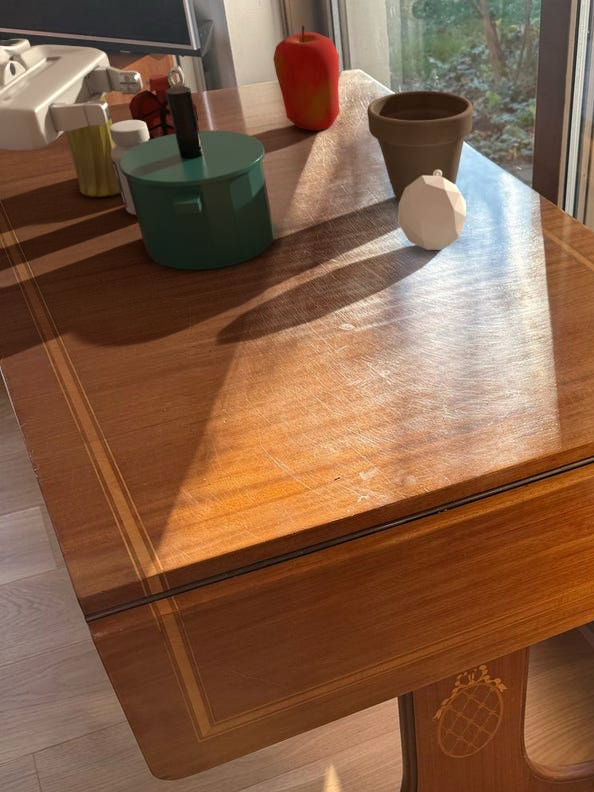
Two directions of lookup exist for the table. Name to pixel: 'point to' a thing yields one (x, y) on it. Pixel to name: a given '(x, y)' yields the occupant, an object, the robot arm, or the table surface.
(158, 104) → the grenade
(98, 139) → the vase
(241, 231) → the pot
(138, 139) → the pill bottle
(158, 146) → the lid
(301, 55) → the apple
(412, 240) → the ornament
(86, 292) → the table surface
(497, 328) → the table surface
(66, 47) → the robot arm
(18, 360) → the table surface
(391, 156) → the flower pot
